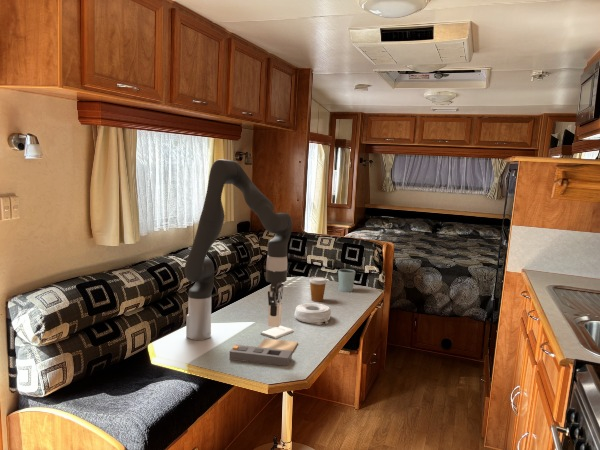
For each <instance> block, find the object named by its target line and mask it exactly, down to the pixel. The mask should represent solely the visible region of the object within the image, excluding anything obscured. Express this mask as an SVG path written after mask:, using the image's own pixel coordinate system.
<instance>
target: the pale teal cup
mask: <svg viewBox="0 0 600 450" xmlns="http://www.w3.org/2000/svg"><path fill="white" fill-rule="evenodd" d="M337 272H338V273H337V274H338V276H337V277H338V278H337V279H338V287H337V288H338V289H337V290H338V291H340V292H343V293H351V292H353V290H354V283H355V276H356V271H355V270H354V269H349V268H340V269H338V271H337Z"/></svg>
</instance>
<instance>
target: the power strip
mask: <svg viewBox="0 0 600 450" xmlns="http://www.w3.org/2000/svg"><path fill="white" fill-rule="evenodd" d="M292 358H293V352H292V351H288V350H279V349H271V348H262V347H258V346H252V345H242V344H235V345H234V346H232V348H231V349H230V350H229V360H234V361H240V362H241V361H244V362H250V363H259V364H266V365H267V364H268V365H275V366H284V367H288V366H289V364H290V362H291V361H292Z"/></svg>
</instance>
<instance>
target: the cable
mask: <svg viewBox="0 0 600 450" xmlns="http://www.w3.org/2000/svg"><path fill="white" fill-rule="evenodd" d="M293 314H294V318H295V319H296V320H298V321H300V322H303V323H307V324H313V325H317V326H321V325H323V324H325V325H328V324H329V320H330V318H331V316H332V315H331V314H332V313H331V308H330V307H329V306H328V305H325V304H321V303H315V302H313V303H312V302H307V303H301V304H298V305H297V306H296V307H295V311H294V313H293Z"/></svg>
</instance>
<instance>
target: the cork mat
mask: <svg viewBox="0 0 600 450" xmlns="http://www.w3.org/2000/svg"><path fill="white" fill-rule="evenodd" d="M298 344H299V342H298V341H291V340H290V341H289V340H280V339H273V338H264V339H263V340H262V341H261V342H260V343H259V345H258V346H257V347H262V348H271V349H279V350H288V351H292V353H294V351H295V349H296V348H297V345H298Z"/></svg>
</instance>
